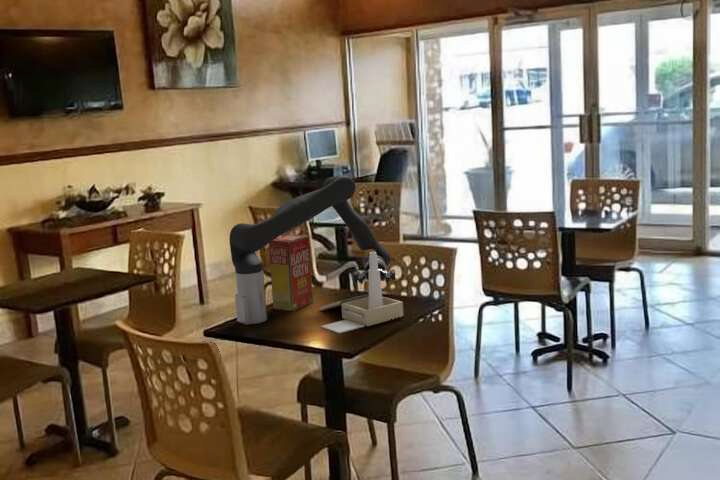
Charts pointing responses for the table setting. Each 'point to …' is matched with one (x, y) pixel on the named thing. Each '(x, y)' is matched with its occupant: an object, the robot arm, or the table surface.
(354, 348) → the table surface
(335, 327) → the mat
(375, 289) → the cosmetic bottle
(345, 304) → the case
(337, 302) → the lid
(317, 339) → the table surface
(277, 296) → the food packaging
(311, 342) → the table surface
